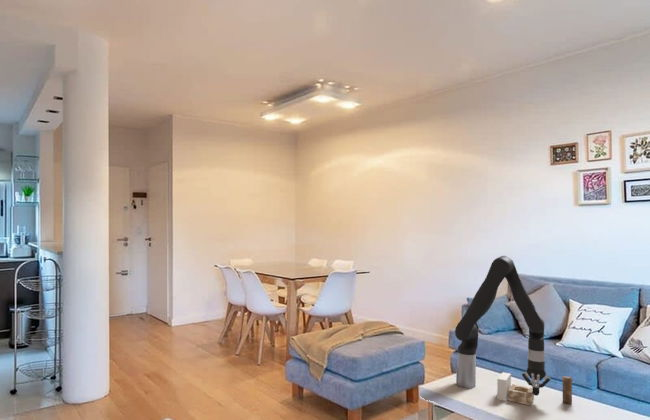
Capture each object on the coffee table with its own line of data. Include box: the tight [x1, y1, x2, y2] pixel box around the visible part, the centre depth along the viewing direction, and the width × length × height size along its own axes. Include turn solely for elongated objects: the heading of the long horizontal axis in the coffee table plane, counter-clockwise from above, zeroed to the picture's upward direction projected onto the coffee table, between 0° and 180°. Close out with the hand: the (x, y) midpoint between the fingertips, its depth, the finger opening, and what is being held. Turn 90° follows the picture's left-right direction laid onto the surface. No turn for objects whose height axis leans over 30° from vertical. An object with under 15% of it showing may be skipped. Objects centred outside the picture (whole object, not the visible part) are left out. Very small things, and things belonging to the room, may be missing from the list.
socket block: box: [507, 383, 535, 406], centre depth 218 cm, size 10×10×5 cm
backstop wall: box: [496, 372, 512, 402], centre depth 223 cm, size 4×12×10 cm, turn 147°
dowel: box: [562, 375, 573, 405], centre depth 216 cm, size 4×4×12 cm
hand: (536, 394), depth 215 cm, fingers closed
